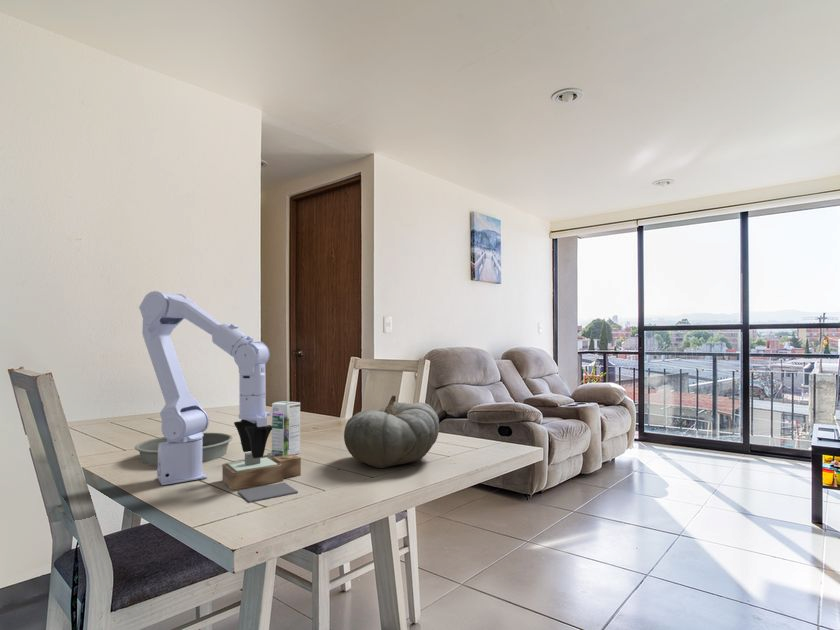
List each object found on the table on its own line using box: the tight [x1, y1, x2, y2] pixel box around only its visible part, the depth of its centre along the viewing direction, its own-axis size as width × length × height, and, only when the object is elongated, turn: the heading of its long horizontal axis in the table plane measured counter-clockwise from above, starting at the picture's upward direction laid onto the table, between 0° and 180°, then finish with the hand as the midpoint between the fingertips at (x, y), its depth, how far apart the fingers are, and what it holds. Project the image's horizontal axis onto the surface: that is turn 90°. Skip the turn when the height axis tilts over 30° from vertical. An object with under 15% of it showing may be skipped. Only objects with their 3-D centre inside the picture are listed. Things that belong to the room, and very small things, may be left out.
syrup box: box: [271, 400, 301, 456], centre depth 138 cm, size 6×6×14 cm
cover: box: [227, 452, 278, 472], centre depth 113 cm, size 9×8×3 cm
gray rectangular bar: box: [267, 451, 283, 459], centre depth 126 cm, size 9×2×3 cm, turn 35°
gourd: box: [343, 395, 440, 469], centre depth 129 cm, size 25×25×17 cm
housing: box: [221, 454, 302, 491], centre depth 114 cm, size 16×10×4 cm, turn 125°
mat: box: [238, 481, 299, 503], centre depth 104 cm, size 10×8×1 cm
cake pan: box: [134, 432, 234, 467], centre depth 138 cm, size 25×25×4 cm
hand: (252, 454), depth 113 cm, fingers open, 7 cm apart
